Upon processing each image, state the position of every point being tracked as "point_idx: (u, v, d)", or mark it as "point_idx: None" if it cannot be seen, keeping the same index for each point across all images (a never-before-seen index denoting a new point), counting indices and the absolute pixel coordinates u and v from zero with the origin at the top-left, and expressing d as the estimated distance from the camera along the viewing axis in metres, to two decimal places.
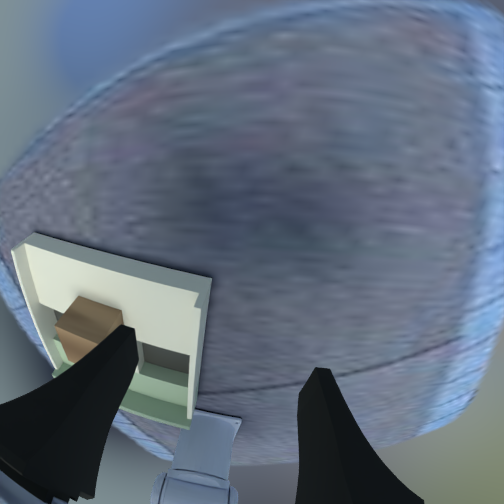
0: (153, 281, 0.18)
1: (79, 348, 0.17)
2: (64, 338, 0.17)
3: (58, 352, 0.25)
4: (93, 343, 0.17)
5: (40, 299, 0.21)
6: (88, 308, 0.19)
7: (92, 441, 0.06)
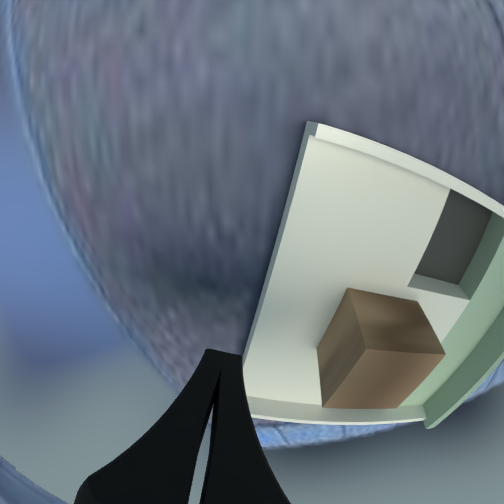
0: (288, 213, 0.11)
1: (372, 385, 0.10)
2: (349, 401, 0.11)
3: (406, 406, 0.18)
4: (363, 358, 0.09)
5: (320, 402, 0.18)
6: (329, 341, 0.13)
7: None
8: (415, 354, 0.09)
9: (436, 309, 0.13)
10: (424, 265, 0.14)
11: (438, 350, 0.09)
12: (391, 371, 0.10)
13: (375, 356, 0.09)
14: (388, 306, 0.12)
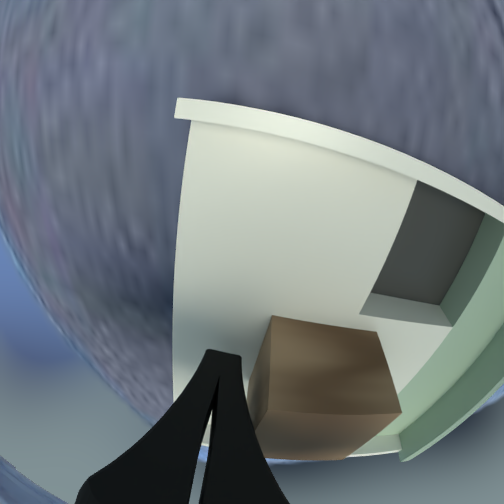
0: (178, 222, 0.09)
1: (297, 442, 0.08)
2: (273, 453, 0.08)
3: (378, 437, 0.15)
4: (268, 418, 0.07)
5: None
6: (254, 378, 0.10)
7: (193, 475, 0.06)
8: (350, 415, 0.07)
9: (405, 339, 0.10)
10: (390, 283, 0.11)
11: (391, 408, 0.07)
12: (319, 431, 0.07)
13: (286, 416, 0.07)
14: (327, 342, 0.09)
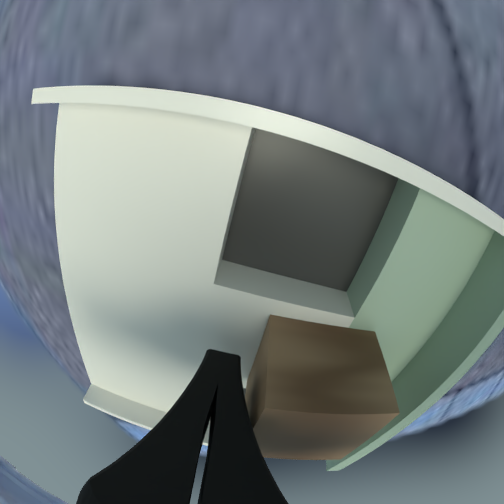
0: (54, 186, 0.08)
1: (295, 441, 0.08)
2: (270, 452, 0.08)
3: None
4: (265, 417, 0.07)
5: None
6: (252, 377, 0.11)
7: (194, 475, 0.06)
8: (347, 415, 0.07)
9: None
10: (269, 257, 0.11)
11: (388, 408, 0.07)
12: (316, 431, 0.07)
13: (283, 416, 0.07)
14: (325, 341, 0.09)
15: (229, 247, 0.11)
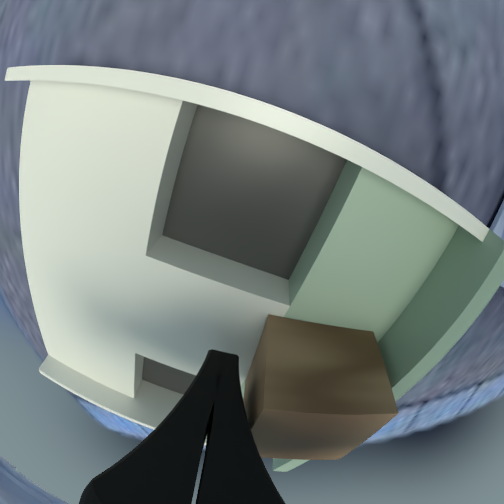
0: (20, 156, 0.08)
1: (293, 441, 0.08)
2: (269, 452, 0.08)
3: None
4: (264, 417, 0.07)
5: (125, 393, 0.15)
6: (251, 377, 0.11)
7: (196, 476, 0.06)
8: (346, 415, 0.07)
9: (217, 305, 0.10)
10: (207, 236, 0.11)
11: (387, 408, 0.07)
12: (315, 431, 0.07)
13: (281, 416, 0.07)
14: (323, 341, 0.09)
15: (169, 223, 0.11)
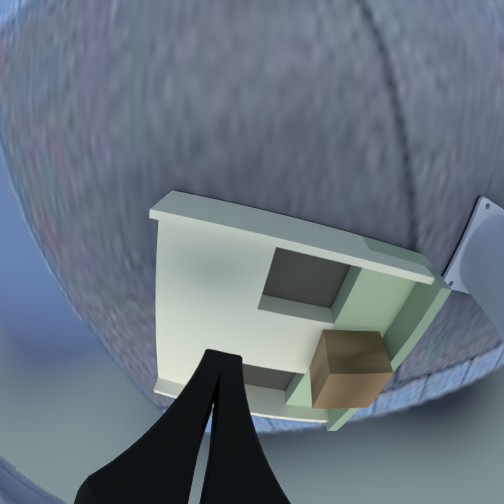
0: None
1: (343, 393, 0.16)
2: (330, 404, 0.17)
3: (308, 408, 0.24)
4: (329, 379, 0.15)
5: None
6: (315, 364, 0.19)
7: None
8: (366, 374, 0.15)
9: (296, 328, 0.19)
10: (286, 291, 0.19)
11: (387, 370, 0.15)
12: (353, 385, 0.16)
13: (337, 377, 0.15)
14: (352, 340, 0.18)
15: (263, 287, 0.19)
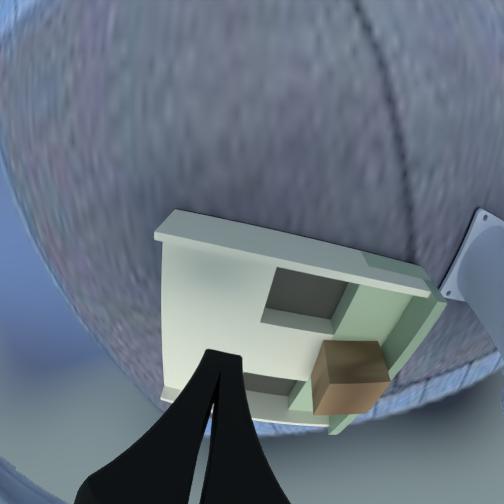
0: None
1: (342, 401, 0.17)
2: (330, 411, 0.17)
3: (310, 412, 0.24)
4: (329, 388, 0.16)
5: None
6: (316, 372, 0.19)
7: None
8: (365, 383, 0.15)
9: (297, 339, 0.19)
10: (287, 304, 0.20)
11: (385, 379, 0.16)
12: (352, 393, 0.16)
13: (337, 386, 0.16)
14: (352, 350, 0.18)
15: (265, 300, 0.20)
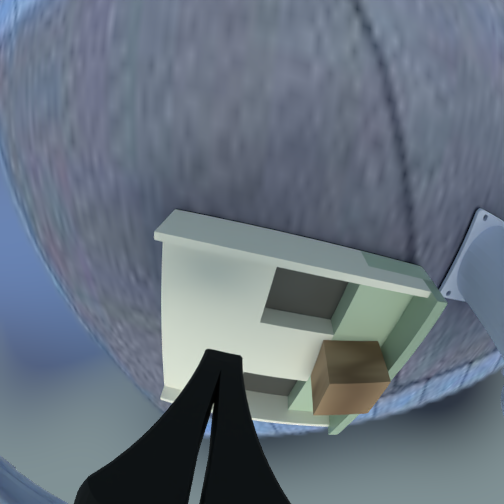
0: None
1: (342, 401, 0.17)
2: (330, 411, 0.17)
3: (310, 412, 0.24)
4: (329, 388, 0.16)
5: None
6: (316, 372, 0.19)
7: None
8: (365, 383, 0.15)
9: (297, 339, 0.19)
10: (287, 304, 0.20)
11: (385, 379, 0.16)
12: (352, 393, 0.16)
13: (337, 386, 0.16)
14: (352, 350, 0.18)
15: (265, 300, 0.20)
